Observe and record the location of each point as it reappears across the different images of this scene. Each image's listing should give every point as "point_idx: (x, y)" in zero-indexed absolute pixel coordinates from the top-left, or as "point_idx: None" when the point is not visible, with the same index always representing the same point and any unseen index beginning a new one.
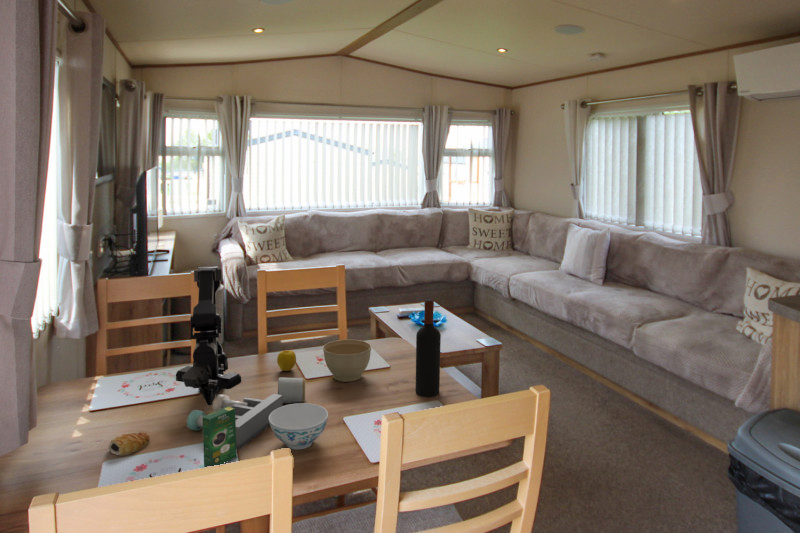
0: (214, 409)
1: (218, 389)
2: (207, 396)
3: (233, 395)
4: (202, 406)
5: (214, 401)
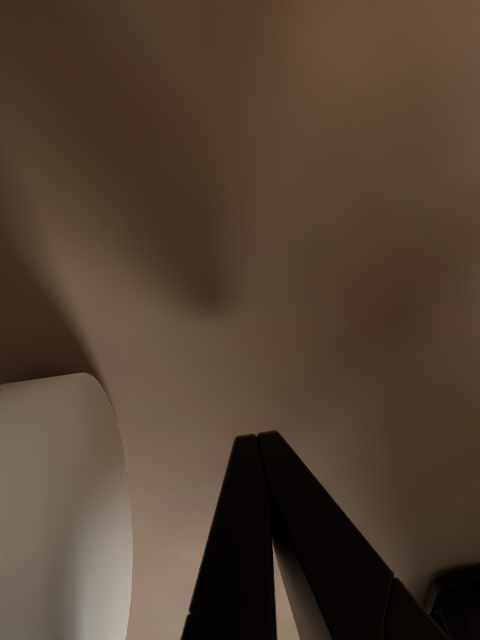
0: (39, 393)
1: (436, 613)
2: (302, 579)
3: (277, 610)
4: (407, 412)
5: (21, 538)
